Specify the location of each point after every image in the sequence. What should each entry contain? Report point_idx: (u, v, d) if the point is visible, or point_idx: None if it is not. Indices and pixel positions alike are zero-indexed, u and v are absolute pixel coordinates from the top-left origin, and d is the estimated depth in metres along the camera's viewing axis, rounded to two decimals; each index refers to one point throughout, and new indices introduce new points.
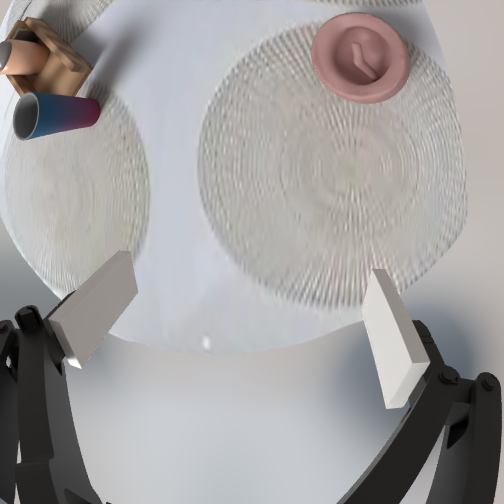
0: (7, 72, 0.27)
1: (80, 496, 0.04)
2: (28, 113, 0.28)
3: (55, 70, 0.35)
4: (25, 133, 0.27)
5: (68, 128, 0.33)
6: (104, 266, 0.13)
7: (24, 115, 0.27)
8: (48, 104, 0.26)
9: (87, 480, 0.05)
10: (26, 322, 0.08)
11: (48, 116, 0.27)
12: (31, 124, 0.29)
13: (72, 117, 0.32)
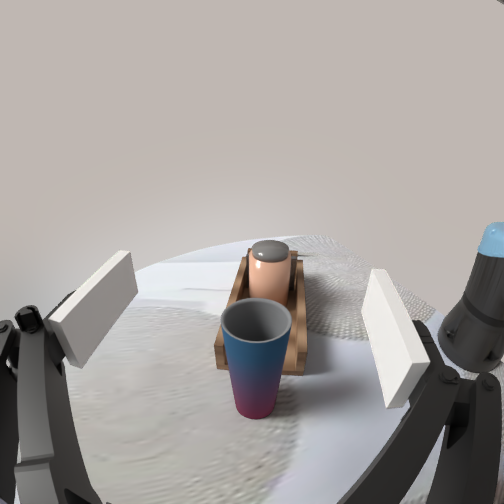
0: (255, 269, 0.46)
1: (80, 496, 0.04)
2: (246, 322, 0.31)
3: None
4: (226, 328, 0.28)
5: (243, 390, 0.28)
6: (104, 266, 0.13)
7: (244, 316, 0.30)
8: (284, 347, 0.26)
9: (87, 480, 0.05)
10: (26, 322, 0.08)
11: (270, 355, 0.25)
12: (233, 333, 0.30)
13: (263, 388, 0.28)
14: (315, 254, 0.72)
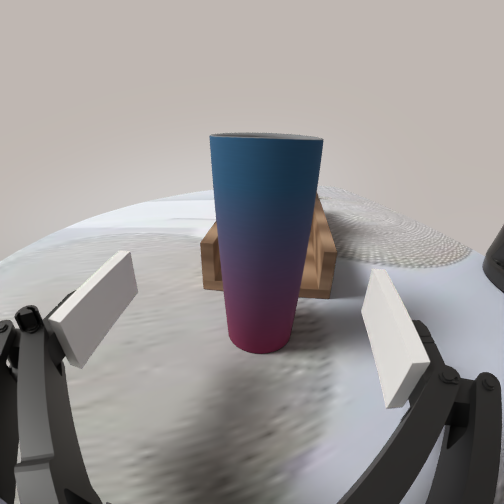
0: None
1: (80, 496, 0.04)
2: None
3: None
4: None
5: (241, 277, 0.17)
6: (104, 266, 0.13)
7: None
8: (314, 175, 0.15)
9: (87, 480, 0.05)
10: (26, 322, 0.08)
11: (292, 177, 0.14)
12: None
13: (278, 270, 0.17)
14: (327, 198, 0.61)
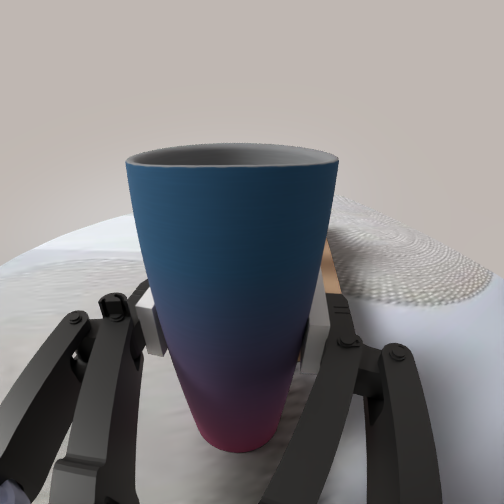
0: None
1: (119, 503, 0.04)
2: None
3: None
4: None
5: (197, 386, 0.10)
6: None
7: None
8: (320, 232, 0.08)
9: (133, 484, 0.06)
10: (110, 309, 0.10)
11: (274, 247, 0.07)
12: None
13: (253, 384, 0.10)
14: None
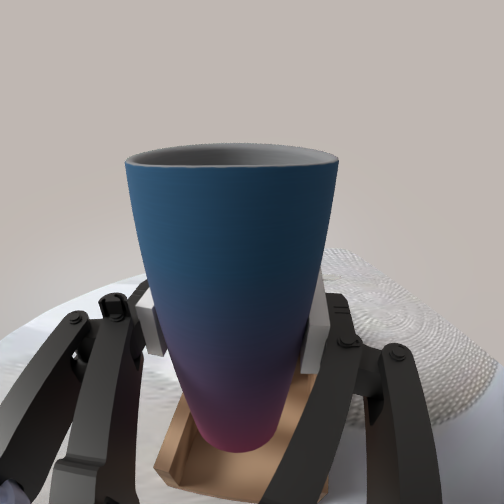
0: None
1: (119, 503, 0.04)
2: None
3: None
4: None
5: (196, 387, 0.10)
6: None
7: None
8: (320, 232, 0.08)
9: (133, 484, 0.06)
10: (110, 309, 0.10)
11: (275, 248, 0.07)
12: None
13: (253, 385, 0.10)
14: (334, 277, 0.50)
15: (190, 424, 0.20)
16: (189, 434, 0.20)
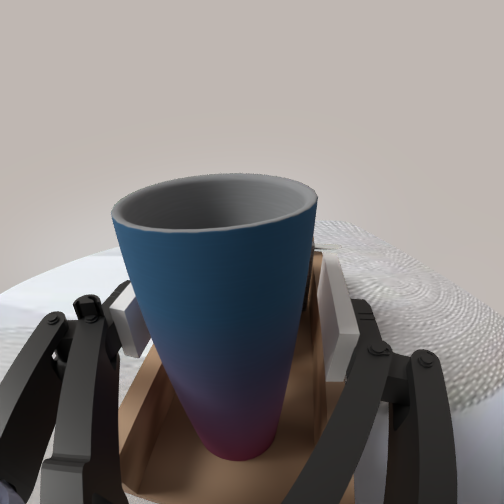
0: None
1: (107, 500, 0.04)
2: None
3: None
4: None
5: (193, 407, 0.11)
6: None
7: (195, 222, 0.13)
8: (298, 275, 0.08)
9: (119, 482, 0.06)
10: (85, 311, 0.10)
11: (252, 297, 0.07)
12: None
13: (244, 406, 0.10)
14: (335, 246, 0.44)
15: (152, 407, 0.14)
16: (150, 421, 0.14)
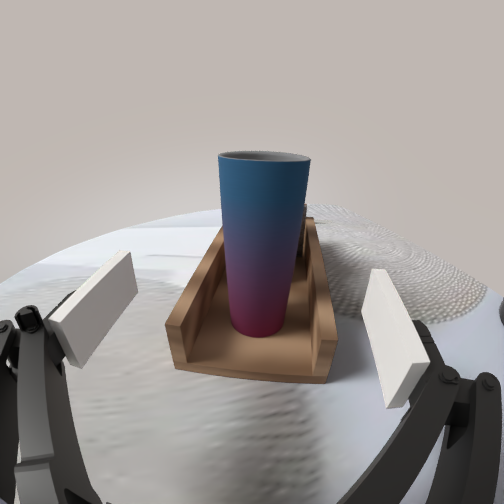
0: None
1: (80, 496, 0.04)
2: None
3: None
4: None
5: (242, 270, 0.22)
6: (104, 266, 0.13)
7: None
8: (301, 188, 0.19)
9: (87, 480, 0.05)
10: (26, 322, 0.08)
11: (284, 191, 0.18)
12: None
13: (272, 265, 0.21)
14: (326, 221, 0.55)
15: (201, 298, 0.25)
16: (199, 309, 0.25)
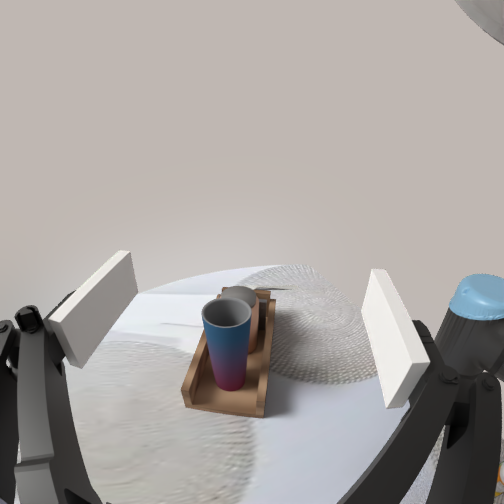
0: None
1: (80, 496, 0.04)
2: (221, 315, 0.42)
3: None
4: (206, 318, 0.39)
5: (218, 365, 0.40)
6: (104, 266, 0.13)
7: (220, 310, 0.41)
8: (245, 332, 0.37)
9: (87, 480, 0.05)
10: (26, 322, 0.08)
11: (234, 337, 0.36)
12: (211, 322, 0.41)
13: (232, 364, 0.39)
14: (293, 287, 0.73)
15: (198, 370, 0.43)
16: (197, 376, 0.43)
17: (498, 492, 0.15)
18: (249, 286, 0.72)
